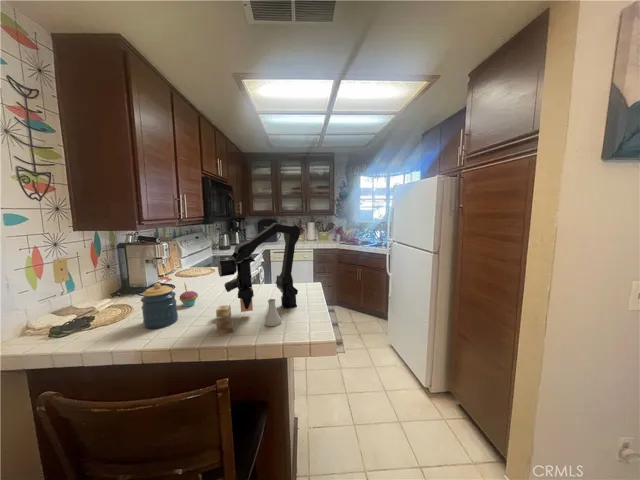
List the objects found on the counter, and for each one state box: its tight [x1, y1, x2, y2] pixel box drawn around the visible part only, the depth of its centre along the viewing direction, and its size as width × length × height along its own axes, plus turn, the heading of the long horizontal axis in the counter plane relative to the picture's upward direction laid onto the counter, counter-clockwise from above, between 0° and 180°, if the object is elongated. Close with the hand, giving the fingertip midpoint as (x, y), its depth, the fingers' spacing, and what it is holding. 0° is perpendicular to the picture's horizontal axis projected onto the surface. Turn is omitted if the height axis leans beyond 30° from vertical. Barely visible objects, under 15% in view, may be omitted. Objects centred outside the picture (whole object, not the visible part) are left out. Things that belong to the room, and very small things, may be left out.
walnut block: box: [215, 316, 234, 337], centre depth 105 cm, size 5×5×5 cm
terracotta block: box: [239, 298, 254, 313], centre depth 118 cm, size 5×5×5 cm
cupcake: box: [178, 281, 199, 308], centre depth 135 cm, size 9×8×12 cm
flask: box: [264, 298, 282, 327], centre depth 111 cm, size 7×7×10 cm
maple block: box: [215, 304, 232, 319], centre depth 118 cm, size 5×5×5 cm
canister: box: [140, 282, 179, 330], centre depth 115 cm, size 13×13×18 cm
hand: (246, 306), depth 118 cm, fingers closed on terracotta block, 5 cm apart
